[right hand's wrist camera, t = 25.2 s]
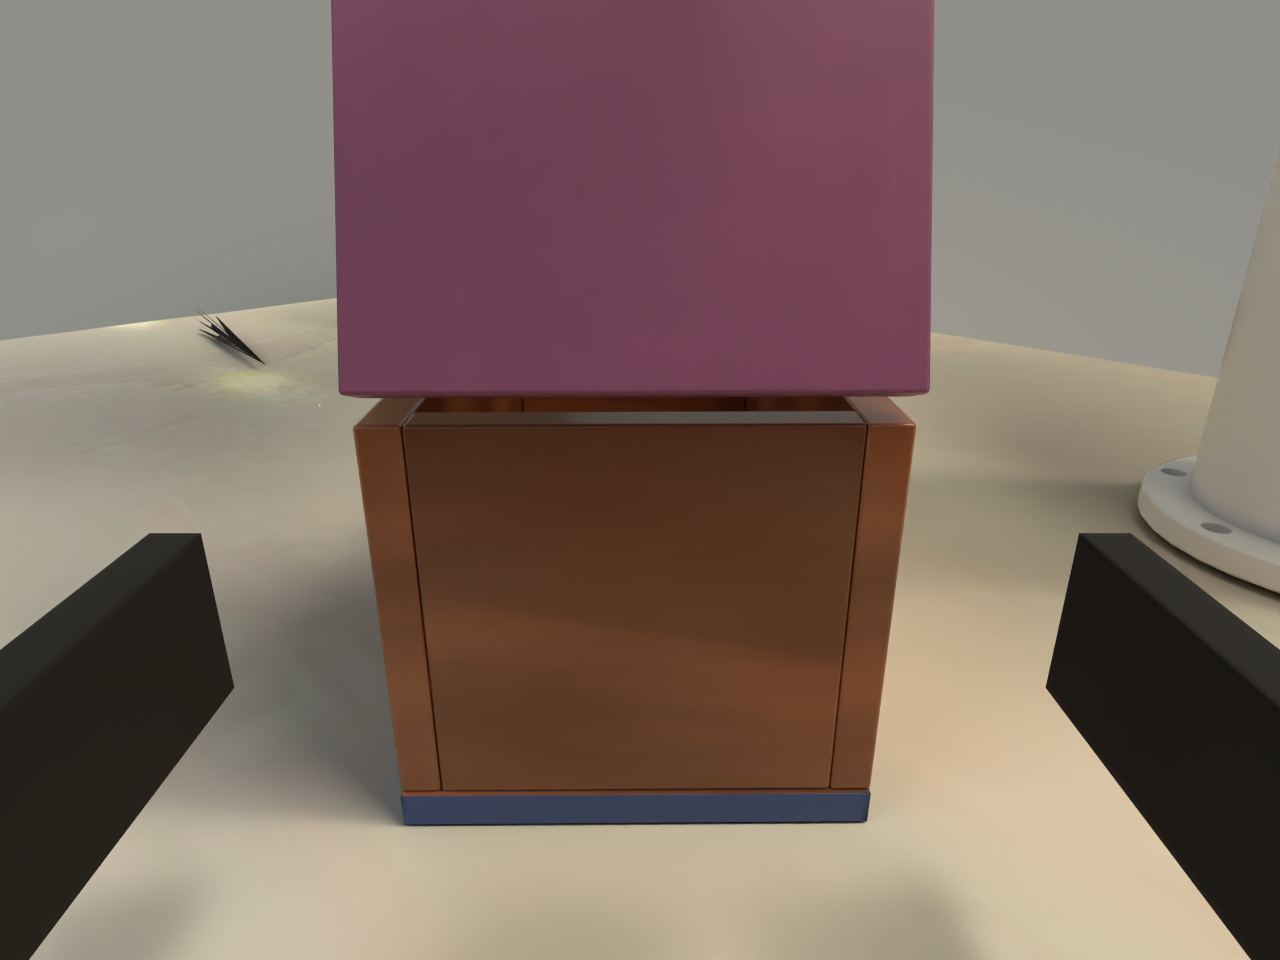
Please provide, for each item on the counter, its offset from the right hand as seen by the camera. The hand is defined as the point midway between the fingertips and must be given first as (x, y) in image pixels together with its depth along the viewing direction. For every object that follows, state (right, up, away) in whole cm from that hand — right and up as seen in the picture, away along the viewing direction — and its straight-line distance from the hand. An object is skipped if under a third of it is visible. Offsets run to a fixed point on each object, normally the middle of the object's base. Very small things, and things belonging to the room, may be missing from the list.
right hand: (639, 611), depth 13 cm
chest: (0, -2, +12) cm, 12 cm away
